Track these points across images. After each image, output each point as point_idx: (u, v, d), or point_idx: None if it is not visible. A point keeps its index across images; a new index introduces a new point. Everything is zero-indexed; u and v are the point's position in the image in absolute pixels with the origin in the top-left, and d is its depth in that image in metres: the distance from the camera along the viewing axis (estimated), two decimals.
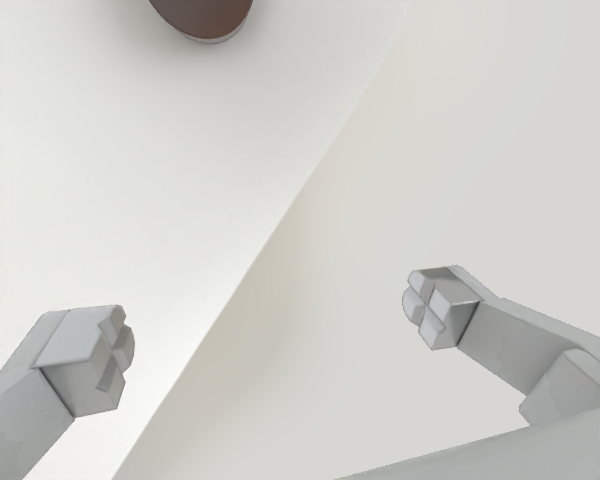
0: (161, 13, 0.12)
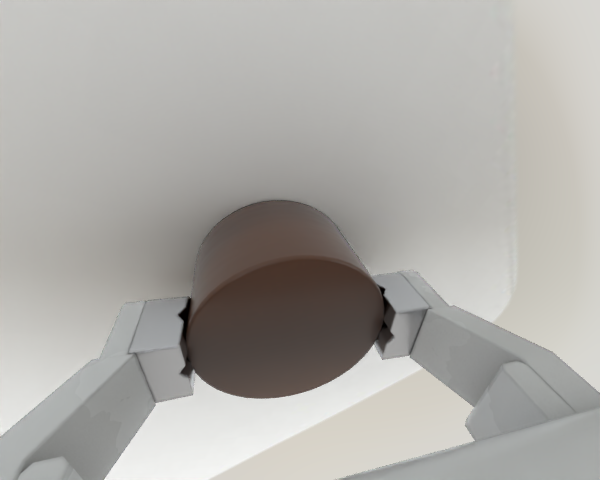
0: (198, 373, 0.07)
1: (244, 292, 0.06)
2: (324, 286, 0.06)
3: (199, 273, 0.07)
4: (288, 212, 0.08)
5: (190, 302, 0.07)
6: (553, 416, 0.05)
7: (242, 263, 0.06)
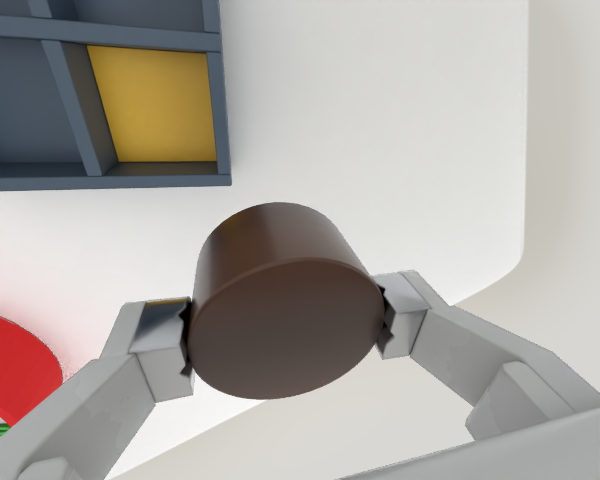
0: (199, 375, 0.07)
1: (245, 294, 0.06)
2: (325, 288, 0.06)
3: (200, 275, 0.07)
4: (289, 214, 0.08)
5: (191, 304, 0.07)
6: (552, 417, 0.05)
7: (244, 265, 0.06)
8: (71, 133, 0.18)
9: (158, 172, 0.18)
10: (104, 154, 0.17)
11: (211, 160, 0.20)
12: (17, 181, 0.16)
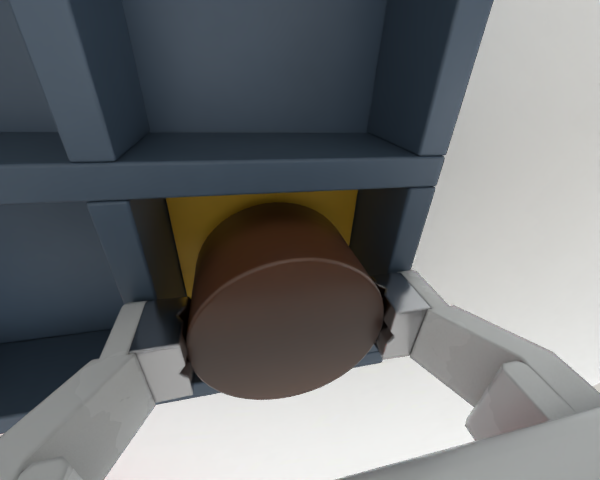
0: (198, 375, 0.07)
1: (244, 294, 0.06)
2: (324, 288, 0.06)
3: (199, 275, 0.07)
4: (288, 214, 0.08)
5: (190, 304, 0.07)
6: (552, 416, 0.05)
7: (243, 265, 0.06)
8: (119, 291, 0.10)
9: None
10: None
11: None
12: None
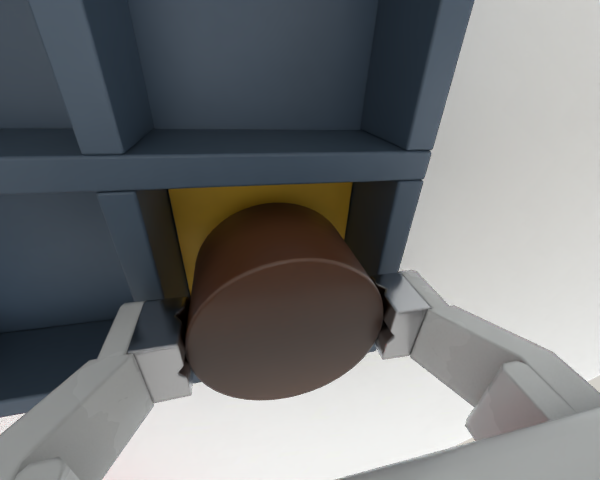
0: (197, 376, 0.07)
1: (243, 294, 0.06)
2: (324, 288, 0.06)
3: (198, 275, 0.07)
4: (288, 214, 0.08)
5: None
6: (552, 416, 0.05)
7: (241, 266, 0.06)
8: (123, 282, 0.11)
9: None
10: None
11: None
12: (40, 400, 0.09)
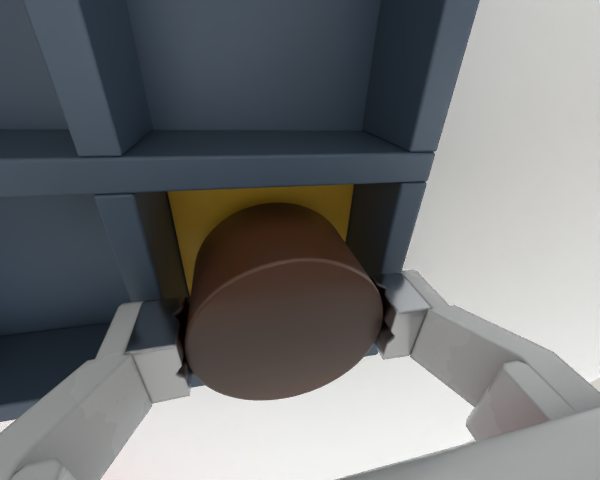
0: (197, 376, 0.07)
1: (243, 295, 0.06)
2: (324, 288, 0.06)
3: (198, 275, 0.07)
4: (288, 214, 0.08)
5: (189, 304, 0.07)
6: (553, 416, 0.05)
7: (241, 266, 0.06)
8: (122, 285, 0.11)
9: None
10: None
11: None
12: None
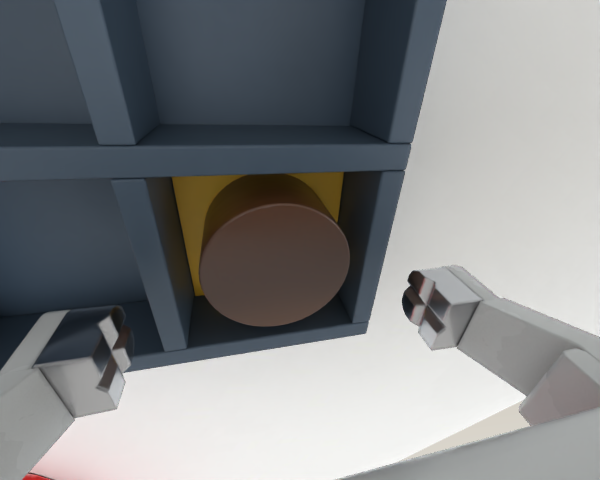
0: (207, 297, 0.09)
1: (242, 229, 0.08)
2: (301, 228, 0.09)
3: (208, 223, 0.09)
4: (277, 178, 0.10)
5: None
6: None
7: (240, 209, 0.08)
8: (130, 268, 0.11)
9: None
10: (186, 308, 0.11)
11: None
12: None
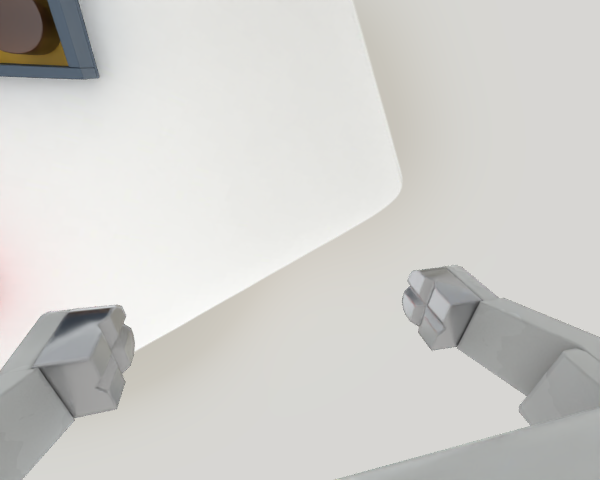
0: None
1: None
2: None
3: None
4: None
5: None
6: None
7: None
8: None
9: (19, 65, 0.22)
10: None
11: None
12: None
